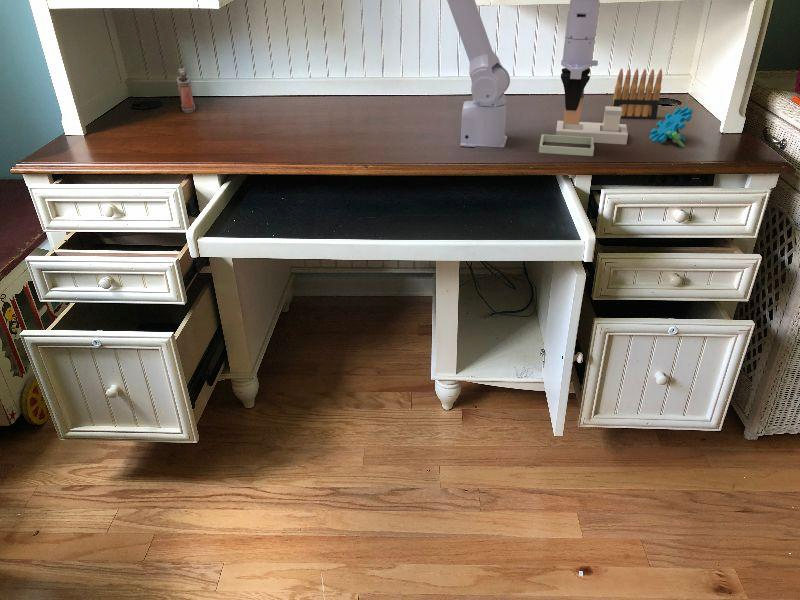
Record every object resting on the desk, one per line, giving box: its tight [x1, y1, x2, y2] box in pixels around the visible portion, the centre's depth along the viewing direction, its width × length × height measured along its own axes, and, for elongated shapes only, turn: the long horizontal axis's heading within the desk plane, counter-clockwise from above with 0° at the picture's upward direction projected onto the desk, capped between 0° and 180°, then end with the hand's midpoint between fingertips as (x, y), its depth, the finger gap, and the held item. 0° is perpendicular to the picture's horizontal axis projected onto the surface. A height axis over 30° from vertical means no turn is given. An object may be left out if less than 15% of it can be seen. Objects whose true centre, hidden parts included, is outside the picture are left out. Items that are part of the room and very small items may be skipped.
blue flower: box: [648, 105, 694, 147], centre depth 139 cm, size 11×6×10 cm
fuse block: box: [555, 120, 629, 146], centre depth 142 cm, size 15×8×3 cm, turn 76°
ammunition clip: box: [611, 68, 663, 120], centre depth 152 cm, size 11×2×12 cm, turn 82°
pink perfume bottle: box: [176, 68, 196, 113], centre depth 167 cm, size 8×3×10 cm, turn 17°
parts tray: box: [538, 133, 595, 157], centre depth 136 cm, size 11×8×2 cm
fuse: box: [602, 105, 622, 132], centre depth 140 cm, size 3×3×6 cm
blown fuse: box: [562, 89, 585, 125], centre depth 132 cm, size 3×3×6 cm
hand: (571, 107), depth 132 cm, fingers closed on blown fuse, 3 cm apart
